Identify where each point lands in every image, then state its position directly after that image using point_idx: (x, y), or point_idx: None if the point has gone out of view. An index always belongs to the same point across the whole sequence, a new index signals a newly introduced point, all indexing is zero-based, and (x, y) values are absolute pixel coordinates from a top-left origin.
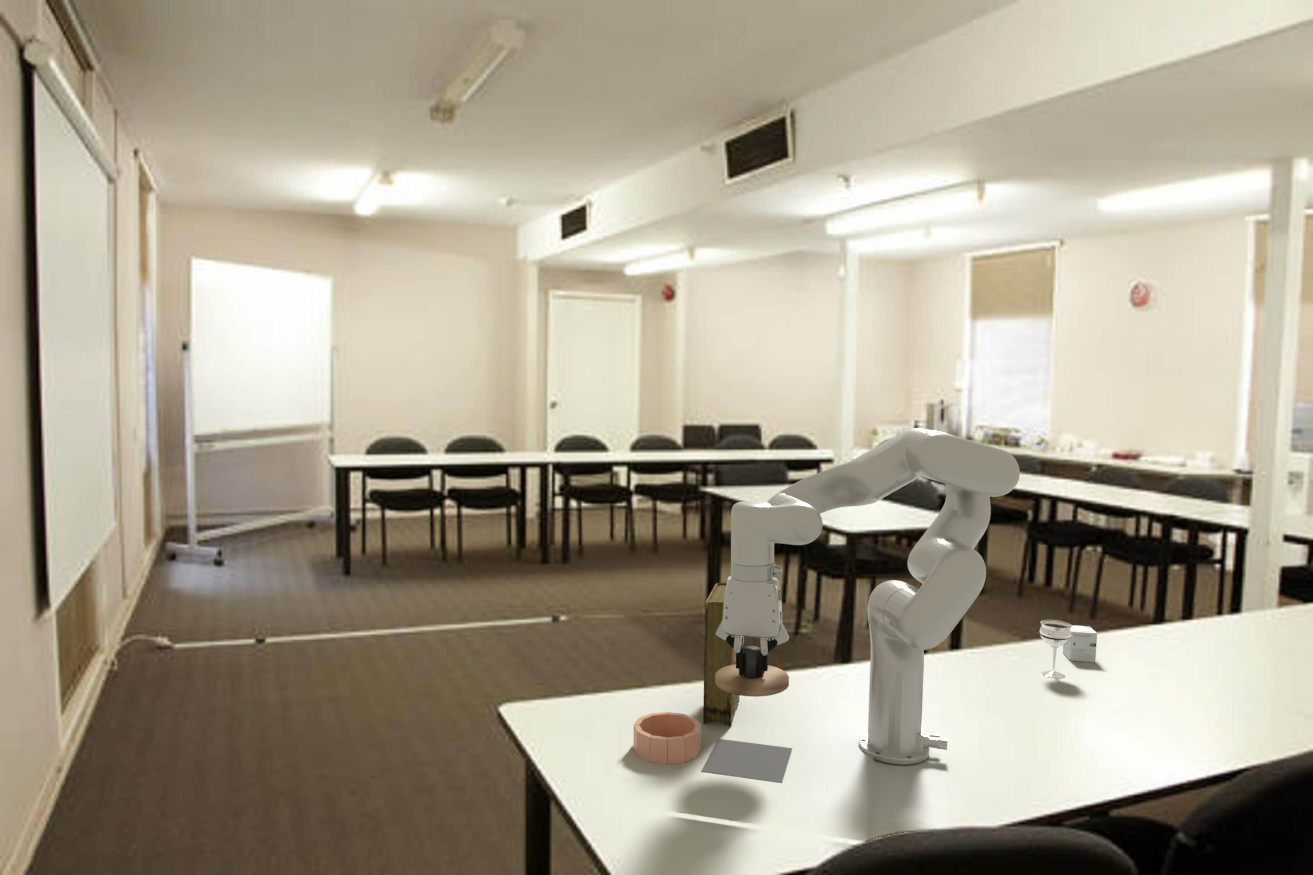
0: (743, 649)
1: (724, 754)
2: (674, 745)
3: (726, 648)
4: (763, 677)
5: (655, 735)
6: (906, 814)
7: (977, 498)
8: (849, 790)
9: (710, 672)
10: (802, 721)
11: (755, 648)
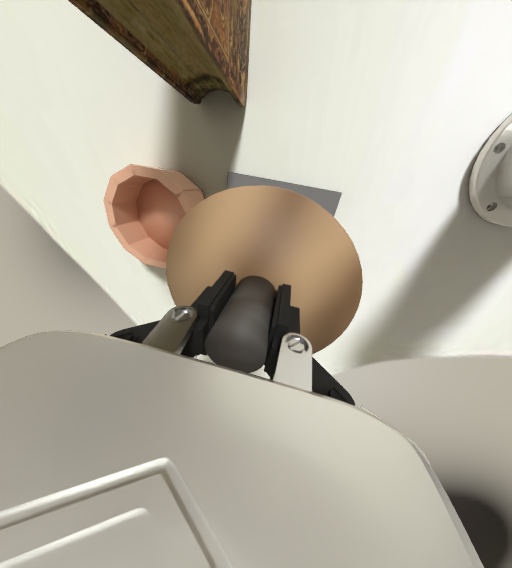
0: (205, 335)
1: None
2: None
3: None
4: None
5: (143, 183)
6: (427, 337)
7: None
8: (385, 296)
9: (138, 20)
10: (408, 6)
11: (248, 353)
